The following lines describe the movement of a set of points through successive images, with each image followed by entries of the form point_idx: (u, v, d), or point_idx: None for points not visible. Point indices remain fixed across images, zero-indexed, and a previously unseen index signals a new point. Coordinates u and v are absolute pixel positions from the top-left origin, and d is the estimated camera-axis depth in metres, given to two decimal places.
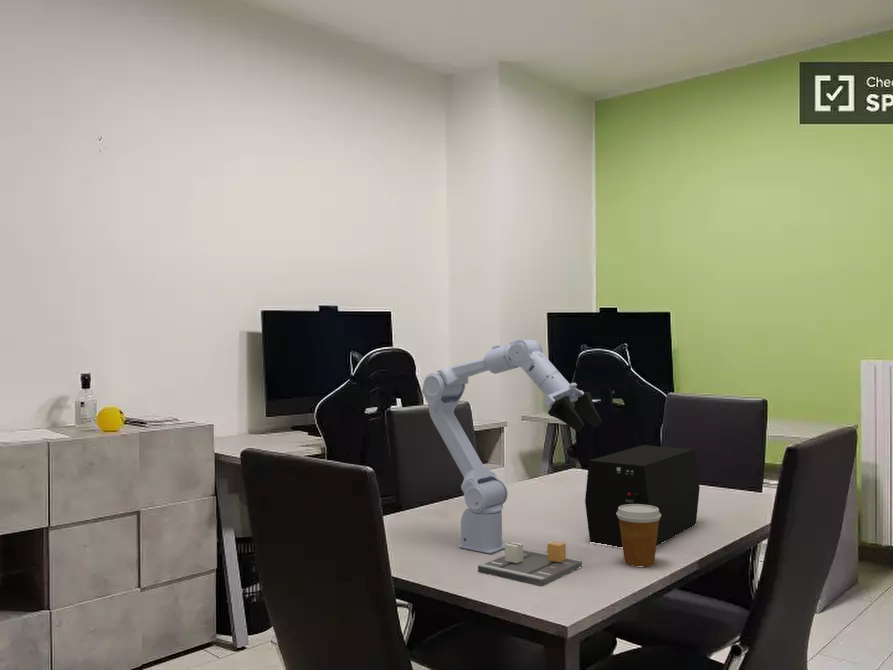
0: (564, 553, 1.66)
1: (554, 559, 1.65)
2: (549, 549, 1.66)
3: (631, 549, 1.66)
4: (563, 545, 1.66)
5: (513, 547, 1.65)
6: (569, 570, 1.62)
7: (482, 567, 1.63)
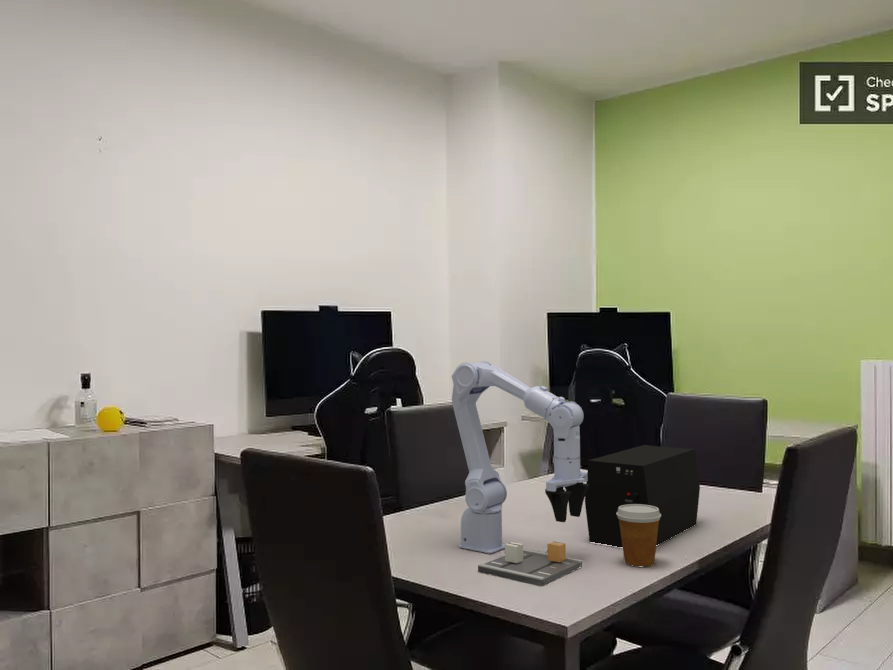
0: (564, 553, 1.66)
1: (554, 559, 1.65)
2: (549, 549, 1.66)
3: (631, 549, 1.66)
4: (563, 545, 1.66)
5: (513, 547, 1.65)
6: (569, 570, 1.62)
7: (482, 567, 1.63)
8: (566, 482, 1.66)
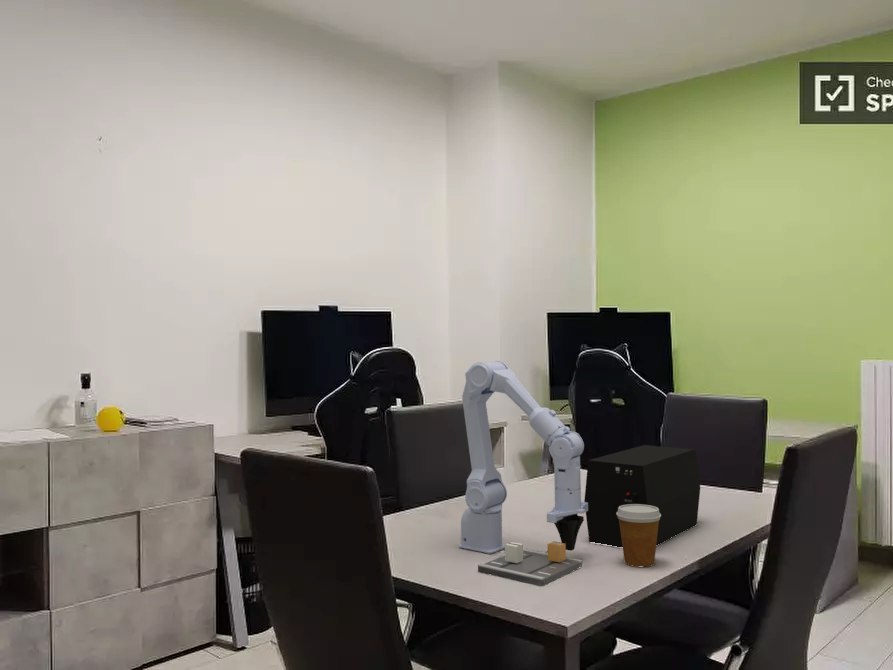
0: (564, 553, 1.66)
1: (554, 559, 1.65)
2: (549, 549, 1.66)
3: (631, 549, 1.66)
4: (563, 545, 1.66)
5: (513, 547, 1.65)
6: (569, 570, 1.62)
7: (482, 567, 1.63)
8: (567, 513, 1.66)
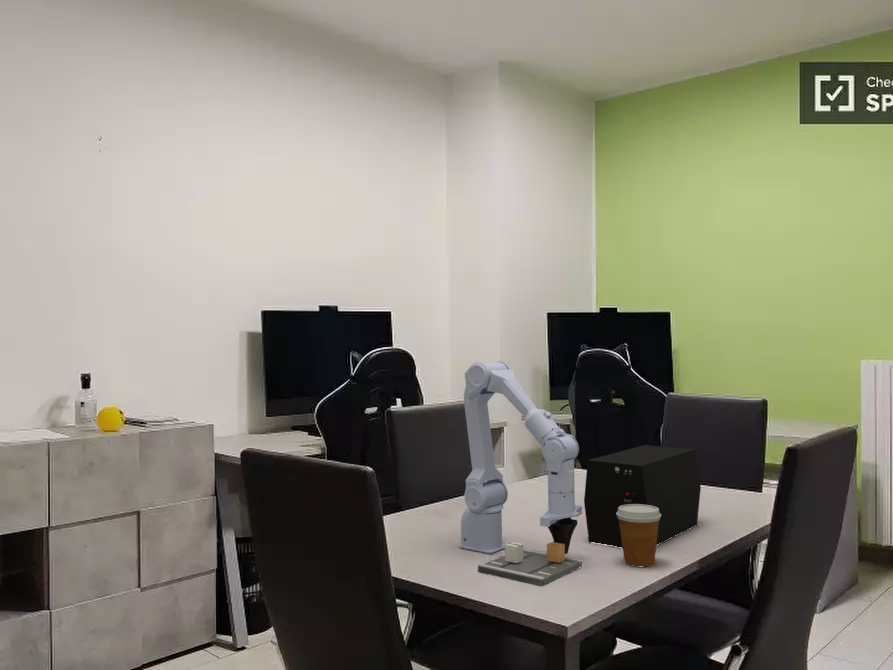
0: (563, 553, 1.66)
1: (553, 559, 1.65)
2: (548, 549, 1.66)
3: (631, 549, 1.66)
4: (562, 545, 1.66)
5: (513, 547, 1.65)
6: (569, 570, 1.62)
7: (482, 567, 1.63)
8: (560, 517, 1.64)
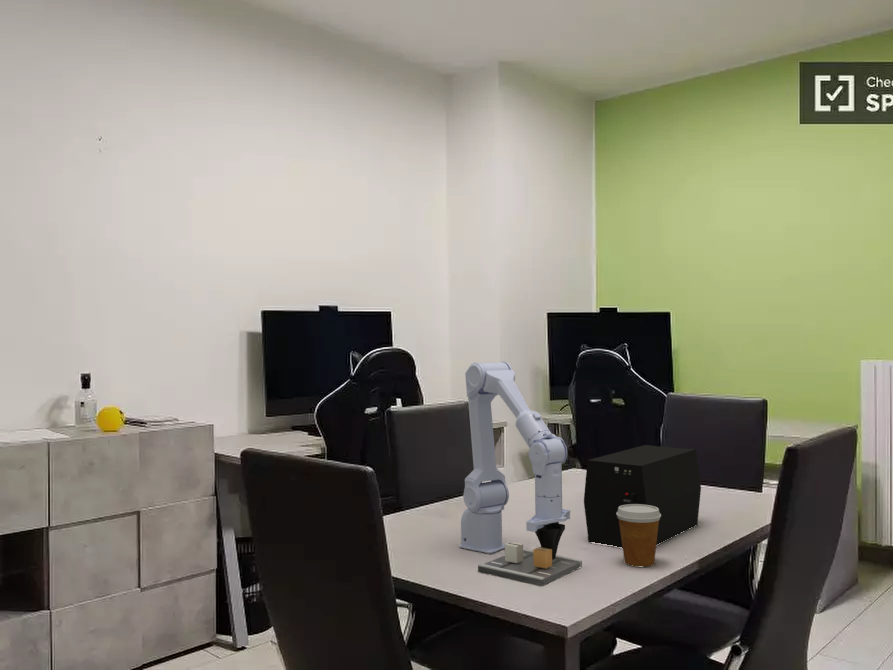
0: (550, 559, 1.62)
1: (540, 565, 1.61)
2: (535, 555, 1.62)
3: (631, 549, 1.66)
4: (549, 551, 1.62)
5: (513, 547, 1.65)
6: (569, 570, 1.62)
7: (482, 567, 1.63)
8: (547, 521, 1.60)
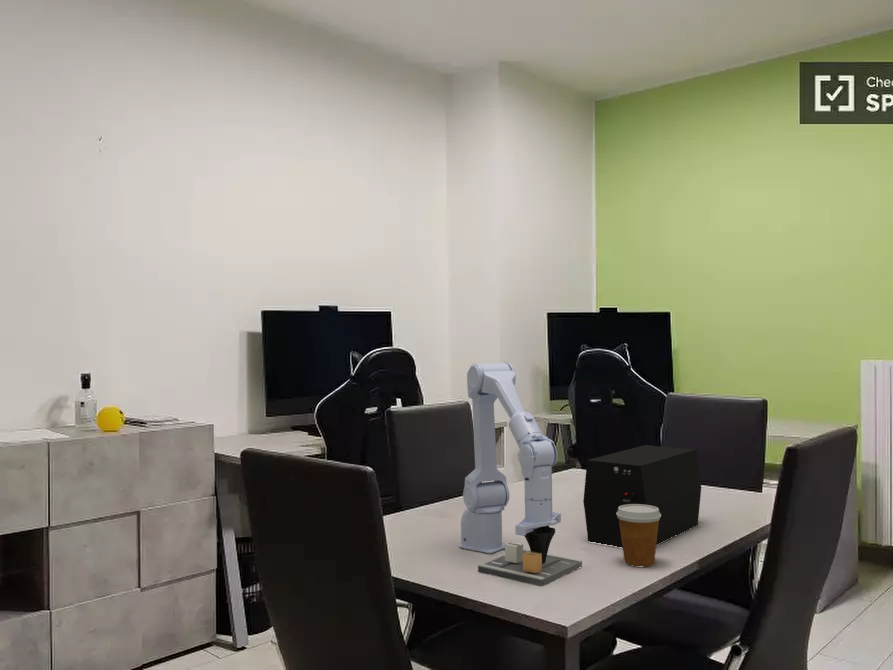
0: (540, 563, 1.59)
1: (530, 570, 1.58)
2: (524, 559, 1.59)
3: (631, 549, 1.66)
4: (539, 555, 1.59)
5: (513, 547, 1.65)
6: (569, 570, 1.62)
7: (482, 567, 1.63)
8: (537, 525, 1.57)
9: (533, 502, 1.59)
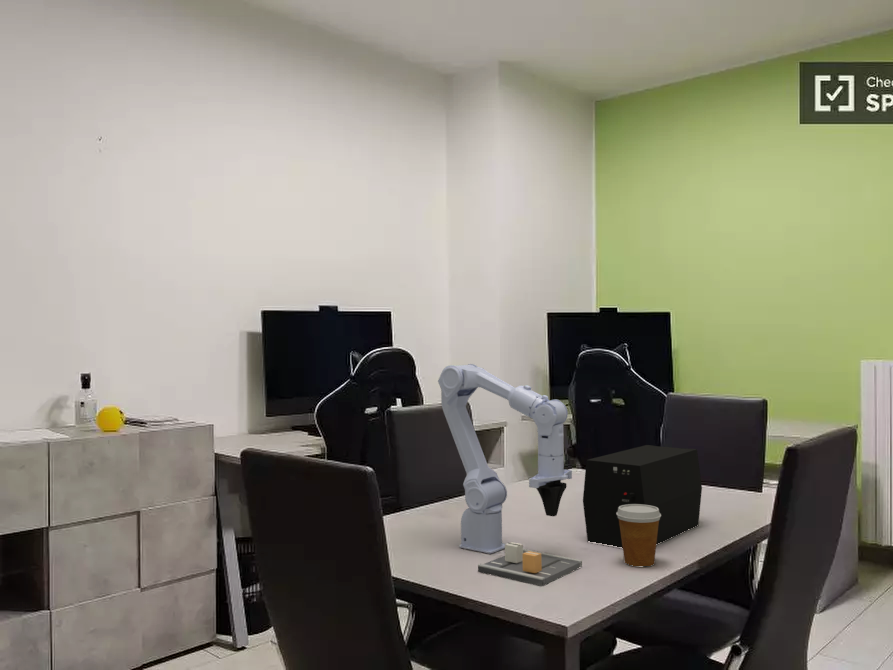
0: (540, 563, 1.59)
1: (529, 570, 1.58)
2: (524, 559, 1.59)
3: (631, 549, 1.66)
4: (539, 555, 1.58)
5: (513, 547, 1.65)
6: (569, 570, 1.62)
7: (482, 567, 1.63)
8: (549, 479, 1.68)
9: (546, 458, 1.70)
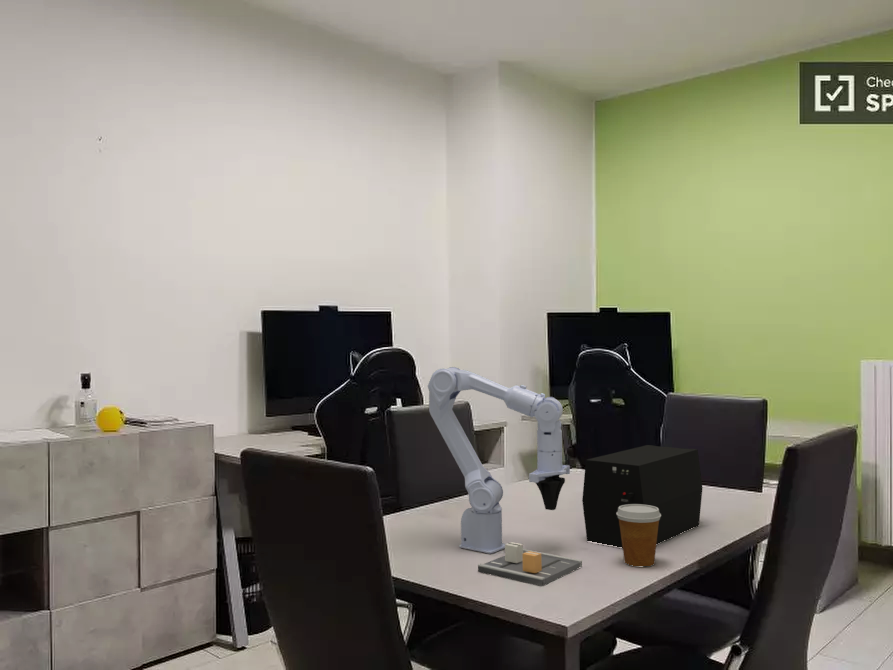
0: (540, 563, 1.59)
1: (529, 570, 1.58)
2: (524, 559, 1.59)
3: (631, 549, 1.66)
4: (539, 555, 1.58)
5: (513, 547, 1.65)
6: (569, 570, 1.62)
7: (482, 567, 1.63)
8: (548, 474, 1.74)
9: (545, 453, 1.76)
